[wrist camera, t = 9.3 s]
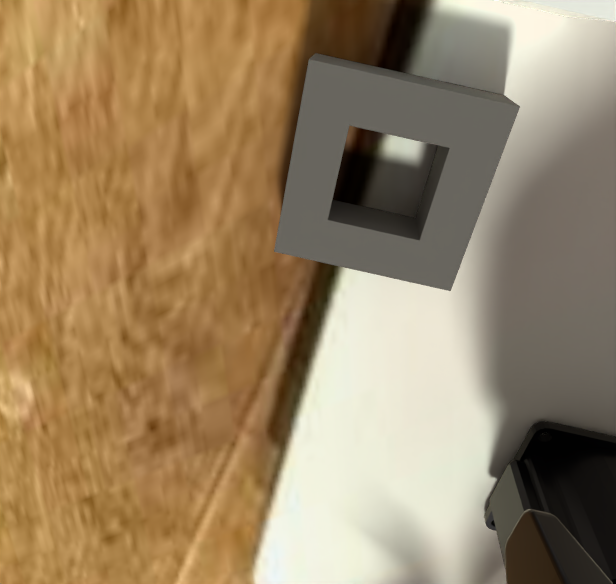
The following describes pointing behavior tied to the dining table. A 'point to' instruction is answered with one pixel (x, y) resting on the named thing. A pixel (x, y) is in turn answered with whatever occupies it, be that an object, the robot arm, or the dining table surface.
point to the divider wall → (572, 8)
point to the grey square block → (404, 123)
